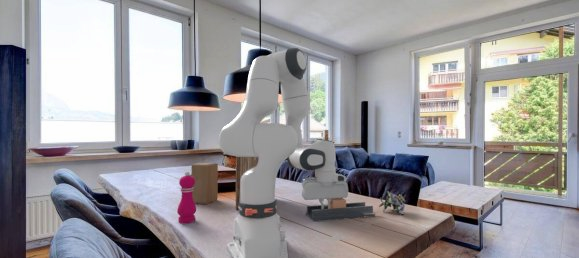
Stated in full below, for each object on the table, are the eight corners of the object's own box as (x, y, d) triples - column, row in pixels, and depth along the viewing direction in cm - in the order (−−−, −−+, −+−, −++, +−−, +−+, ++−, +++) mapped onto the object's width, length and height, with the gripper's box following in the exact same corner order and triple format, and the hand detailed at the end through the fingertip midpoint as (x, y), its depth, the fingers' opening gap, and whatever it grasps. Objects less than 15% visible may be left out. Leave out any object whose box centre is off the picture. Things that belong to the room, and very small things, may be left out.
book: (253, 211, 120) (254, 146, 121) (235, 209, 123) (235, 145, 123) (271, 198, 145) (271, 143, 145) (255, 197, 147) (255, 143, 148)
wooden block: (190, 203, 134) (190, 164, 134) (202, 198, 143) (202, 162, 144) (207, 204, 131) (207, 164, 131) (218, 200, 141) (218, 162, 141)
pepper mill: (190, 216, 112) (190, 170, 112) (199, 220, 107) (200, 171, 108) (173, 221, 106) (174, 171, 107) (183, 225, 102) (183, 173, 102)
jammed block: (333, 214, 111) (333, 200, 112) (328, 211, 116) (328, 197, 116) (346, 213, 113) (346, 199, 113) (340, 210, 118) (340, 197, 118)
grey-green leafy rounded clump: (401, 227, 116) (406, 209, 109) (375, 219, 120) (379, 202, 113) (403, 207, 124) (408, 190, 117) (379, 201, 128) (382, 183, 121)
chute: (313, 221, 107) (313, 211, 107) (306, 214, 116) (306, 205, 116) (374, 216, 114) (374, 206, 114) (362, 209, 123) (362, 201, 123)
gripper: (304, 178, 108) (304, 212, 108) (349, 177, 113) (349, 209, 113) (300, 176, 114) (300, 208, 114) (343, 174, 119) (343, 205, 119)
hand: (325, 208), depth 113 cm, fingers closed
